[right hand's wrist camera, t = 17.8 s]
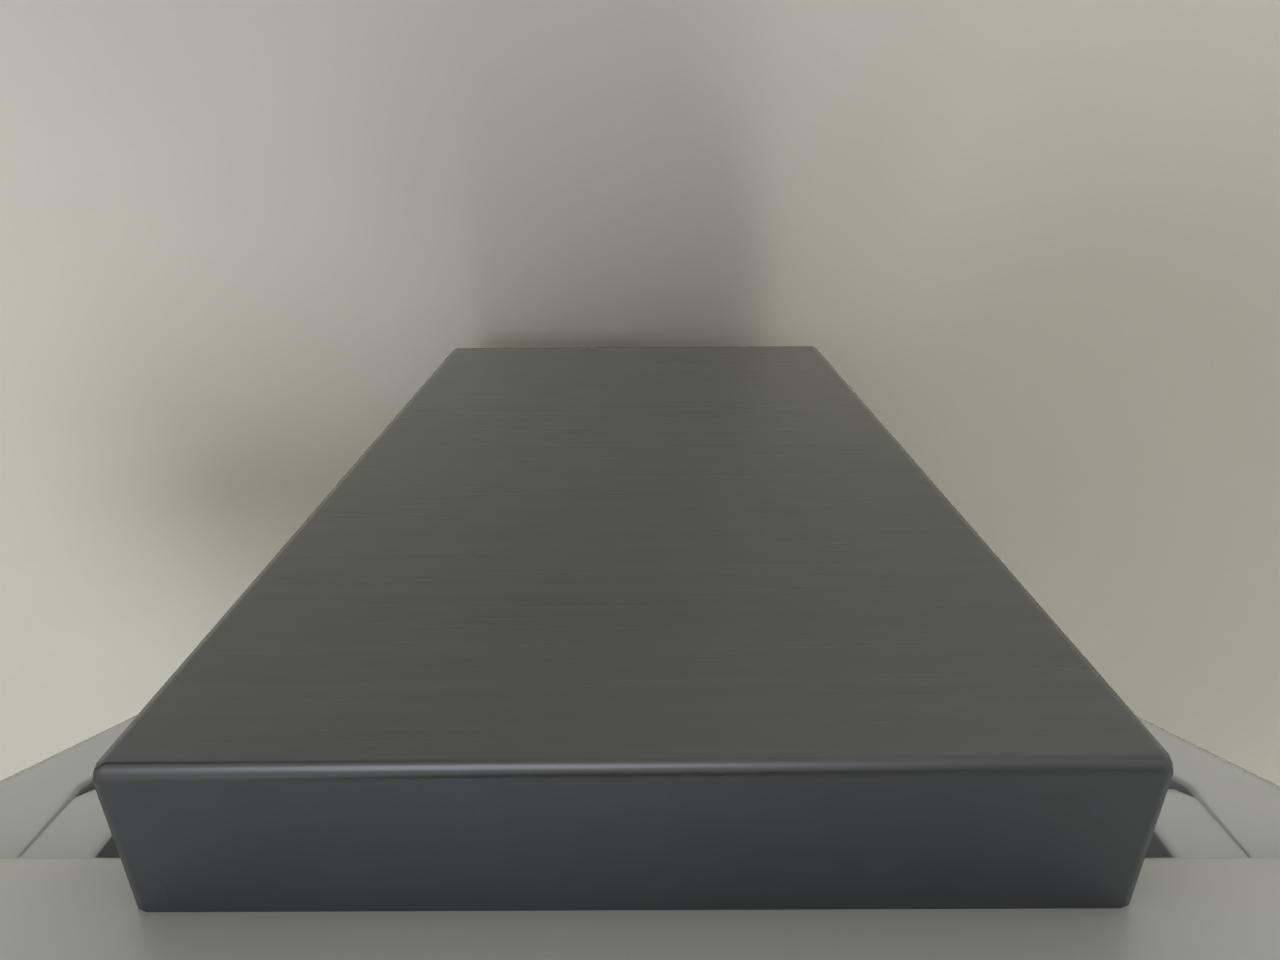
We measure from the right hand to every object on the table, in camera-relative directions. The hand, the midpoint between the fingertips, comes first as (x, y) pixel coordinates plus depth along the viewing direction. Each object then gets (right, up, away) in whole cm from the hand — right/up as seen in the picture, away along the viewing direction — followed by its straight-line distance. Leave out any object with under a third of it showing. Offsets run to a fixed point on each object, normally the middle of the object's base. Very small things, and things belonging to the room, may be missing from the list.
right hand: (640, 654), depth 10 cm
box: (0, -7, +8) cm, 10 cm away
